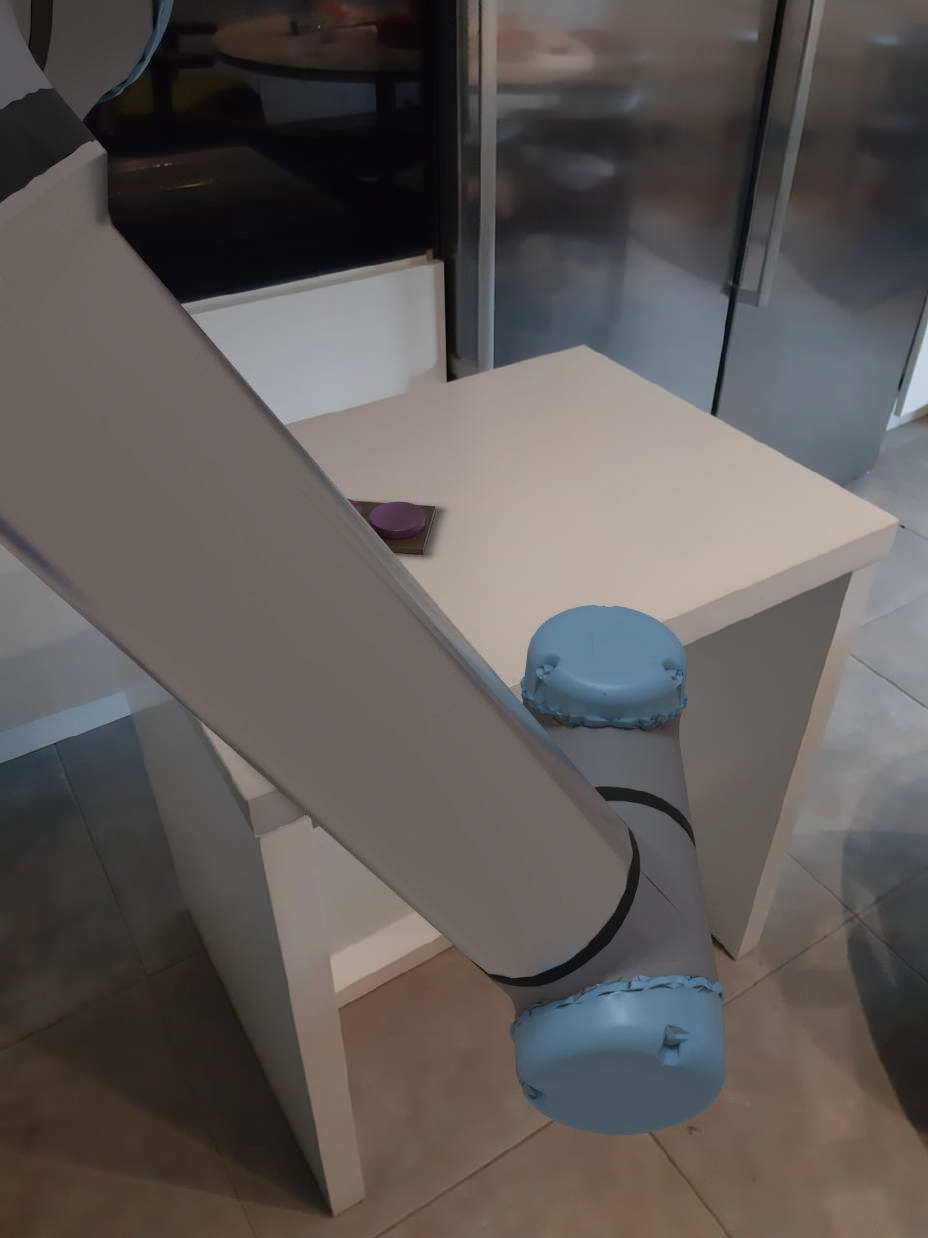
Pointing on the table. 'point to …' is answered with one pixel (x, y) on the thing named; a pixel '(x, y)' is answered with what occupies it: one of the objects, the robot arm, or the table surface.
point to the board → (398, 523)
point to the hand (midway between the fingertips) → (253, 598)
